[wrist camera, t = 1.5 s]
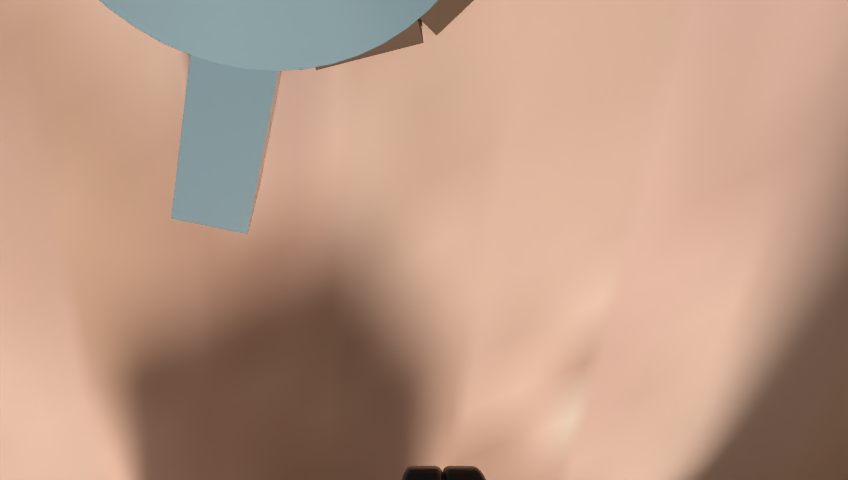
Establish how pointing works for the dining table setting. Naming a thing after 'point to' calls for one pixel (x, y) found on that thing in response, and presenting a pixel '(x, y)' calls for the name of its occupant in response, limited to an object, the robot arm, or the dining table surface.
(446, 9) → the holder ring
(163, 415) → the dining table surface
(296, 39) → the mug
